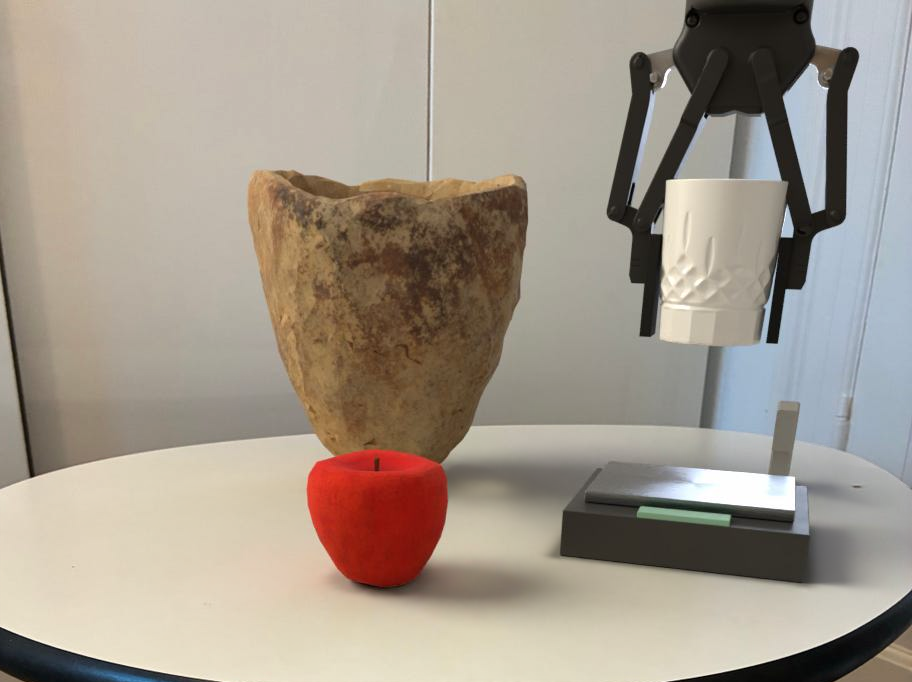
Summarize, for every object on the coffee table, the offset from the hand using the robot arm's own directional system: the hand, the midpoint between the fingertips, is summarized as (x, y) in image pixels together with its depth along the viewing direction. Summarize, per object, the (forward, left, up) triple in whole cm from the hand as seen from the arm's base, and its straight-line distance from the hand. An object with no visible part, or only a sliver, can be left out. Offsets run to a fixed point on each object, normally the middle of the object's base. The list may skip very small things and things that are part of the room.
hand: (708, 337), depth 70 cm
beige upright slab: (-6, -19, -14) cm, 24 cm away
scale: (0, 0, -14) cm, 14 cm away
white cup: (0, 0, 0) cm, 0 cm away
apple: (+18, +16, -14) cm, 28 cm away
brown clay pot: (+27, -10, -14) cm, 32 cm away
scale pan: (0, -1, -11) cm, 11 cm away
